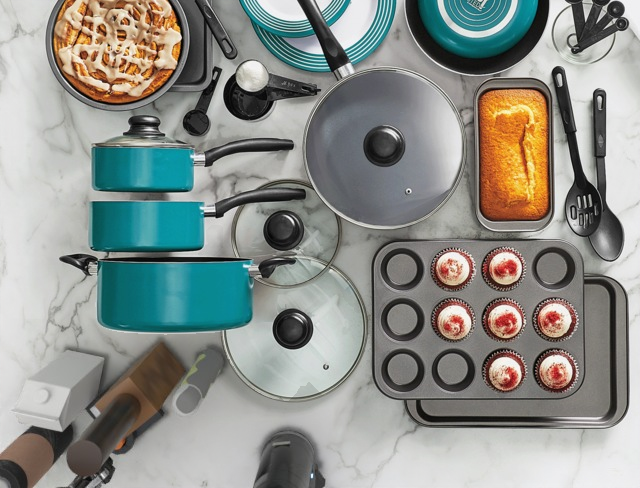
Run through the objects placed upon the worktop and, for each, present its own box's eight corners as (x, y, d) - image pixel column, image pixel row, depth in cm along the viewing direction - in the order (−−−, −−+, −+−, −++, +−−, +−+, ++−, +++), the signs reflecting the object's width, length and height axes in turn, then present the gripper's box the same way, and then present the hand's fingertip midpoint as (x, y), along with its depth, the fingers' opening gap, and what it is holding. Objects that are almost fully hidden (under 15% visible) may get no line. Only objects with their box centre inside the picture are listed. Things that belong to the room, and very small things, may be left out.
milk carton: (97, 395, 122) (51, 443, 103) (59, 387, 123) (6, 434, 104) (105, 357, 122) (60, 398, 103) (67, 349, 122) (14, 389, 103)
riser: (186, 370, 122) (157, 411, 104) (156, 395, 122) (122, 440, 104) (161, 340, 122) (128, 376, 104) (132, 365, 122) (93, 405, 104)
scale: (167, 416, 122) (162, 423, 119) (122, 452, 123) (116, 460, 120) (129, 370, 122) (124, 376, 119) (84, 407, 123) (78, 414, 120)
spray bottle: (191, 361, 122) (160, 406, 102) (210, 342, 122) (182, 383, 102) (211, 380, 122) (183, 429, 102) (229, 361, 122) (205, 406, 102)
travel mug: (27, 420, 123) (-37, 476, 103) (66, 406, 123) (10, 459, 103) (42, 459, 123) (-19, 523, 103) (81, 445, 123) (28, 506, 103)
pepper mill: (147, 410, 104) (110, 461, 88) (123, 430, 104) (81, 484, 88) (127, 386, 104) (86, 432, 88) (103, 406, 104) (58, 455, 88)
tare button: (128, 440, 120) (125, 444, 118) (118, 448, 120) (115, 452, 118) (119, 429, 120) (116, 433, 118) (109, 437, 120) (106, 441, 118)
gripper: (26, 583, 92) (77, 513, 110) (106, 519, 92) (144, 458, 109) (-9, 541, 92) (47, 477, 110) (70, 476, 92) (115, 422, 109)
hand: (96, 468), depth 109 cm, fingers open, 4 cm apart
